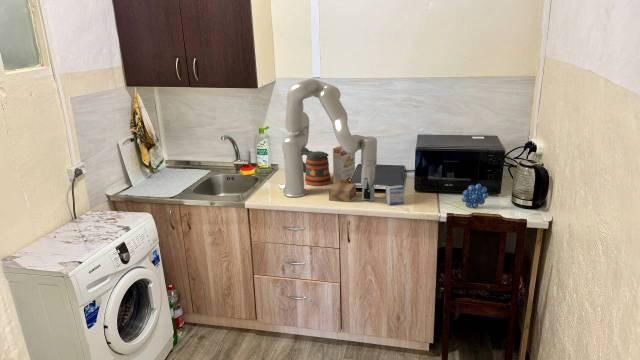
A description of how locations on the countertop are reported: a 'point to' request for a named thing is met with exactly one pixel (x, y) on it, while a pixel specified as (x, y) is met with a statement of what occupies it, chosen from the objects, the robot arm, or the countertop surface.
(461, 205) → the countertop surface
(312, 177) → the beer stein
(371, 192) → the slate box
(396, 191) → the medicine box
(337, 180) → the cracker box
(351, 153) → the robot arm
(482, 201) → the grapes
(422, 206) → the countertop surface
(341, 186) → the walnut block
